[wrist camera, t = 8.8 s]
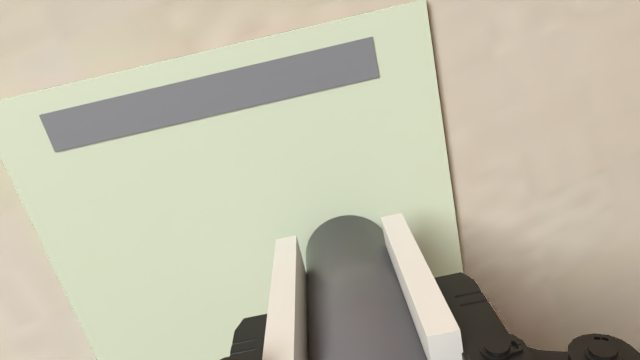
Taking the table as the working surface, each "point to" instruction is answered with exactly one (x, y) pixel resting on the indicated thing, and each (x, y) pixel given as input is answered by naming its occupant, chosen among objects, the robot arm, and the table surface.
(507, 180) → the table surface
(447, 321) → the robot arm
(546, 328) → the table surface
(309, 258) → the marker
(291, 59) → the sheet
